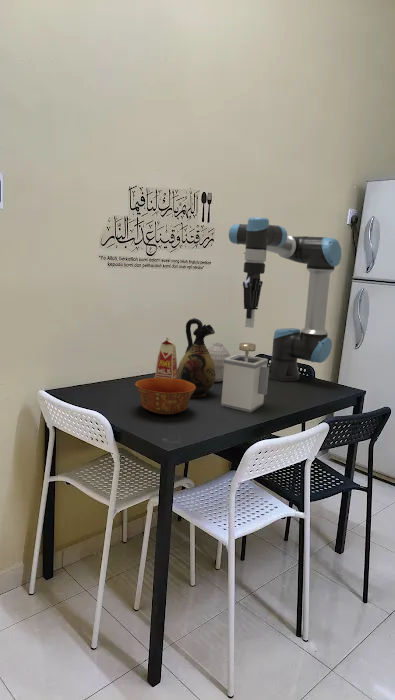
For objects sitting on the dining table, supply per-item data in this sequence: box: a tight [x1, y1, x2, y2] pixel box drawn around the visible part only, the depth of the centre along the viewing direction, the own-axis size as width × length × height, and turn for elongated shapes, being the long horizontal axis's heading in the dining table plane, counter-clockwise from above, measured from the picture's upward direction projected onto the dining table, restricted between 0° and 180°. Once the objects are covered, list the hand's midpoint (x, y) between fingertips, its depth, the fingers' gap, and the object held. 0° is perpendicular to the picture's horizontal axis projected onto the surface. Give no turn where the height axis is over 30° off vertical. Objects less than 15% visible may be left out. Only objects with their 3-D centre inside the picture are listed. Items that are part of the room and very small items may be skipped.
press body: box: [220, 353, 269, 413], centre depth 193 cm, size 12×15×18 cm
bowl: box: [134, 377, 196, 415], centre depth 182 cm, size 21×21×10 cm
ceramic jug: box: [177, 317, 216, 398], centre depth 204 cm, size 17×15×30 cm
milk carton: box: [153, 337, 178, 379], centre depth 218 cm, size 9×9×20 cm
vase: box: [207, 341, 231, 383], centre depth 228 cm, size 13×13×17 cm
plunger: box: [238, 342, 257, 362], centre depth 193 cm, size 9×9×22 cm
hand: (249, 327), depth 189 cm, fingers closed
